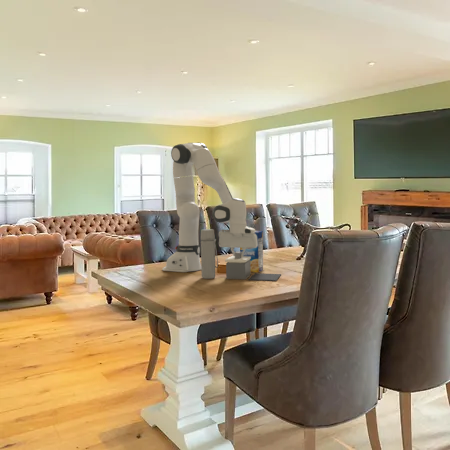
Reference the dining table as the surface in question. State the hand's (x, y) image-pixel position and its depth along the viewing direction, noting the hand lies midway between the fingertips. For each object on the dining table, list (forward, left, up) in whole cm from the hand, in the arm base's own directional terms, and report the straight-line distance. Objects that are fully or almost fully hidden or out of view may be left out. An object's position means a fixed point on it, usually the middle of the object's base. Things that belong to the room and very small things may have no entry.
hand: (238, 256), depth 245 cm
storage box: (0, 0, -11) cm, 11 cm away
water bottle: (-14, -5, -11) cm, 18 cm away
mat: (+14, 0, -11) cm, 18 cm away
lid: (0, 0, -3) cm, 3 cm away
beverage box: (+3, +18, -11) cm, 21 cm away
